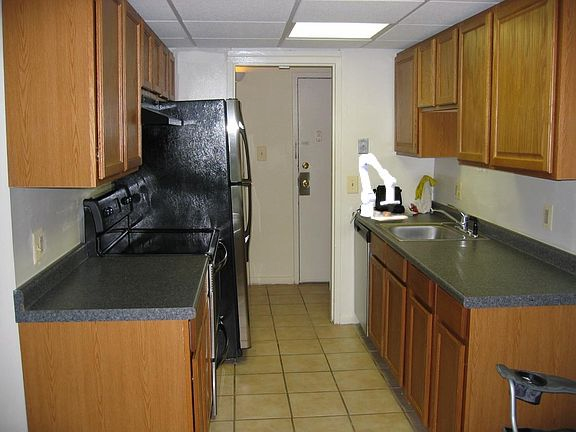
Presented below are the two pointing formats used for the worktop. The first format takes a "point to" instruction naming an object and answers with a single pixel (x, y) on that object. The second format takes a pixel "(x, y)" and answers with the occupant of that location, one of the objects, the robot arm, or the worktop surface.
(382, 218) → the gauge board
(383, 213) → the carriage
